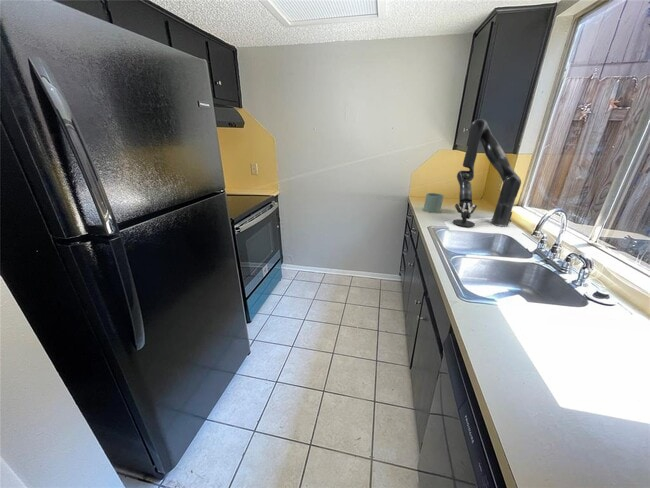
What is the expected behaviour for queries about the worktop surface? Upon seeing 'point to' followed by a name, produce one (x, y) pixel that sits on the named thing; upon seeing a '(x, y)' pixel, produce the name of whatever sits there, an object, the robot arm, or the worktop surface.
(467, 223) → the lid
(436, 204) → the teal cylindrical pot
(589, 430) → the worktop surface
